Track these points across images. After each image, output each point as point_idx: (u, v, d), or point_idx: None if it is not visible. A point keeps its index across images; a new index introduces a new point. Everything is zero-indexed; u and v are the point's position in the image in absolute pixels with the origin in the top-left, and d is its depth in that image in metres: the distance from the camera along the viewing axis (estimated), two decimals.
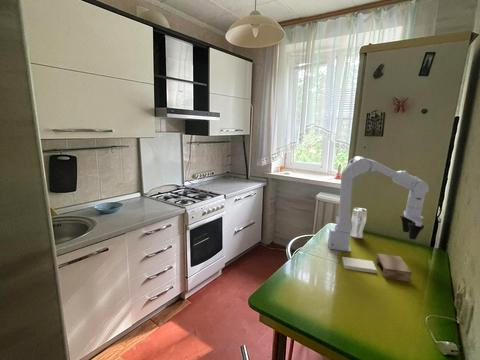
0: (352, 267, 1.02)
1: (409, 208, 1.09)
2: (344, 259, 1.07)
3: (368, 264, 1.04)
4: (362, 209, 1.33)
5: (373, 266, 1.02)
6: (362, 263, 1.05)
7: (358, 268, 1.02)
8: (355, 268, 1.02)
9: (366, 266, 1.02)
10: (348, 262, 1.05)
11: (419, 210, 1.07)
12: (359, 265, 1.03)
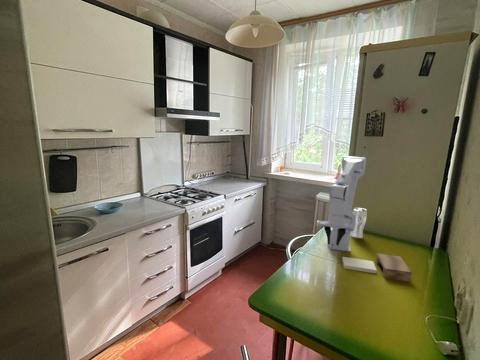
0: (352, 267, 1.02)
1: None
2: (344, 259, 1.07)
3: (368, 264, 1.04)
4: (362, 209, 1.33)
5: (373, 266, 1.02)
6: (362, 263, 1.04)
7: (358, 268, 1.02)
8: (355, 268, 1.02)
9: (366, 267, 1.02)
10: (348, 262, 1.05)
11: (329, 215, 1.03)
12: (359, 265, 1.03)
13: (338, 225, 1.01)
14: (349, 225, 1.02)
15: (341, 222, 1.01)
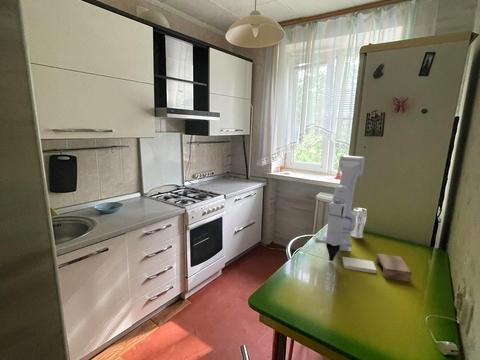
0: (352, 267, 1.02)
1: None
2: (344, 259, 1.07)
3: (368, 264, 1.04)
4: (362, 209, 1.33)
5: (373, 266, 1.02)
6: (362, 263, 1.04)
7: (358, 268, 1.02)
8: (355, 268, 1.02)
9: (366, 267, 1.02)
10: (348, 262, 1.05)
11: (327, 232, 1.04)
12: (359, 265, 1.03)
13: (336, 242, 1.02)
14: (347, 242, 1.04)
15: (339, 239, 1.03)
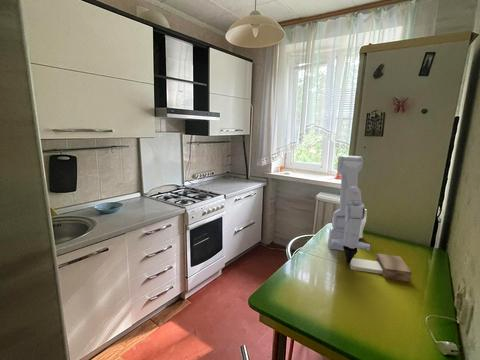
0: (359, 268, 1.02)
1: None
2: None
3: (375, 264, 1.04)
4: None
5: (379, 267, 1.02)
6: (369, 264, 1.04)
7: (365, 269, 1.01)
8: (362, 269, 1.02)
9: (373, 267, 1.02)
10: (355, 263, 1.04)
11: (345, 234, 1.03)
12: (366, 266, 1.02)
13: (354, 245, 1.01)
14: (364, 244, 1.02)
15: (357, 241, 1.01)
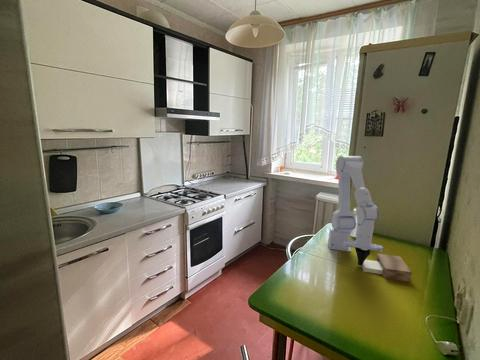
0: (372, 270, 1.00)
1: None
2: None
3: None
4: None
5: None
6: None
7: (378, 271, 1.00)
8: (375, 271, 1.00)
9: None
10: (368, 265, 1.03)
11: (357, 236, 1.01)
12: (379, 268, 1.01)
13: (366, 246, 1.00)
14: (377, 246, 1.01)
15: (369, 243, 1.00)
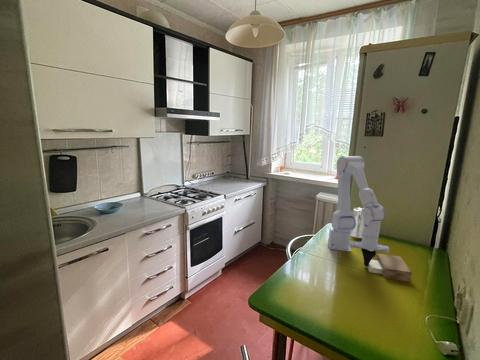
0: (378, 269, 1.00)
1: None
2: None
3: None
4: (362, 209, 1.33)
5: None
6: None
7: None
8: (381, 270, 1.00)
9: None
10: (373, 265, 1.03)
11: (363, 237, 1.01)
12: None
13: (373, 247, 0.99)
14: (383, 247, 1.01)
15: (376, 244, 1.00)
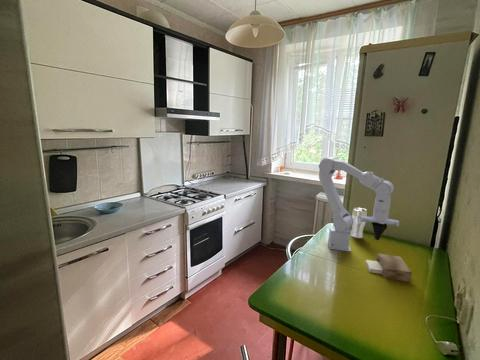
0: (377, 271, 1.00)
1: None
2: (368, 262, 1.05)
3: None
4: (362, 209, 1.33)
5: None
6: None
7: None
8: (381, 272, 1.00)
9: None
10: (373, 266, 1.03)
11: (375, 211, 1.06)
12: None
13: (384, 220, 1.05)
14: (394, 220, 1.06)
15: (386, 217, 1.05)
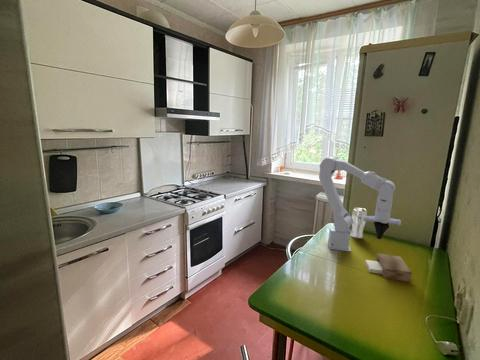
0: (377, 271, 1.00)
1: None
2: (368, 262, 1.05)
3: None
4: (362, 209, 1.33)
5: None
6: None
7: None
8: (381, 272, 1.00)
9: None
10: (373, 266, 1.03)
11: (377, 210, 1.07)
12: None
13: (386, 220, 1.05)
14: (396, 220, 1.07)
15: (388, 217, 1.06)
